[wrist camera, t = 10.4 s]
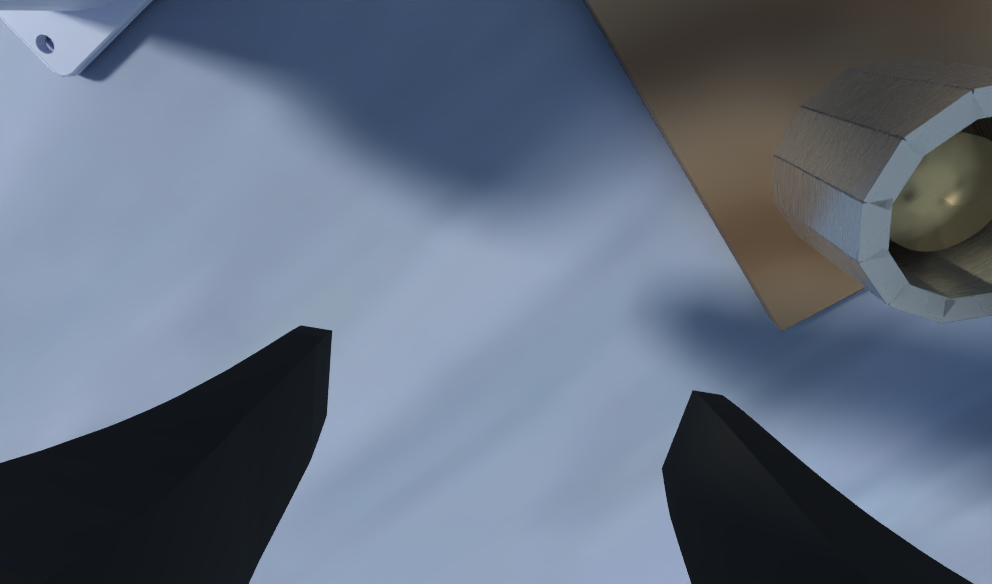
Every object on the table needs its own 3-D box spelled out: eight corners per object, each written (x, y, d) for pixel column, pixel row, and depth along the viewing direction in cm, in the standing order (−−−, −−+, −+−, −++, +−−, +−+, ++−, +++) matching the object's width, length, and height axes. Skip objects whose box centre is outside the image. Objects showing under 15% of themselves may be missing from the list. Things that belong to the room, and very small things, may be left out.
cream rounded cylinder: (799, 151, 18) (862, 181, 14) (898, 90, 17) (988, 108, 14) (837, 228, 19) (904, 272, 15) (932, 174, 18) (1024, 209, 15)
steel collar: (772, 84, 17) (868, 109, 12) (979, 41, 16) (1162, 51, 12) (772, 260, 19) (854, 337, 15) (954, 229, 18) (1097, 299, 14)
